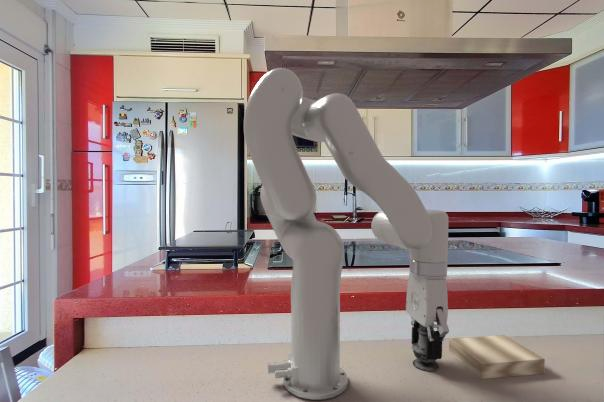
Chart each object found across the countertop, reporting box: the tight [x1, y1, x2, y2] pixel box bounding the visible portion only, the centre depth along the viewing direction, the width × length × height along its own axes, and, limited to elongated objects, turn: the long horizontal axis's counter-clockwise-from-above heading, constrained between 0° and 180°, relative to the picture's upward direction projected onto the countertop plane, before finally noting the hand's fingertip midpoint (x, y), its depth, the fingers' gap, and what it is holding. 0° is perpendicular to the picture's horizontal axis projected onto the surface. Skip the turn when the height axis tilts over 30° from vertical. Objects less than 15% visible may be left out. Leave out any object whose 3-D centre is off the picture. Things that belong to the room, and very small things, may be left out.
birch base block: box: [448, 334, 546, 380], centre depth 80 cm, size 14×12×3 cm
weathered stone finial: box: [411, 322, 440, 372], centre depth 79 cm, size 6×6×12 cm
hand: (426, 350), depth 79 cm, fingers closed on weathered stone finial, 5 cm apart
